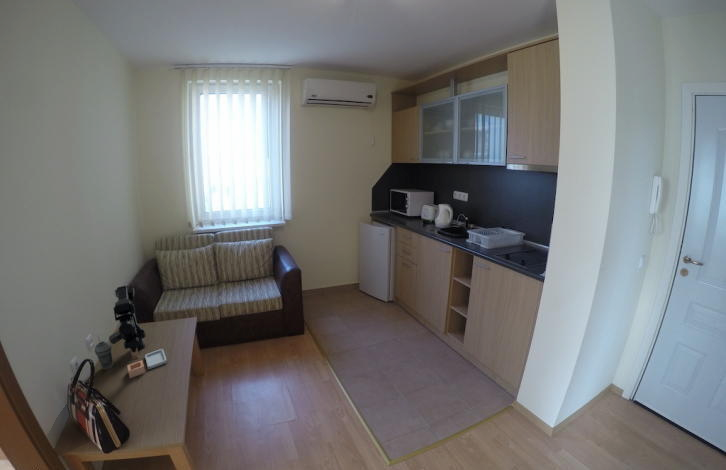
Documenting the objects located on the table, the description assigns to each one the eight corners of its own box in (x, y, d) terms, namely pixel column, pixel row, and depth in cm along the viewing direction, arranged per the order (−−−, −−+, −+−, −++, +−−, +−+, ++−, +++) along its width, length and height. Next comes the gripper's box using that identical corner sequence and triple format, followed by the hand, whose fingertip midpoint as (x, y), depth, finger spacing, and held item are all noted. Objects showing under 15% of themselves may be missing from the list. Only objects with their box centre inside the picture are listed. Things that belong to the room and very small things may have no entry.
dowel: (132, 358, 169) (128, 342, 166) (138, 356, 171) (135, 340, 168) (132, 361, 167) (128, 345, 164) (139, 358, 169) (135, 342, 166)
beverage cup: (107, 372, 170) (98, 340, 165) (96, 370, 172) (87, 338, 166) (119, 363, 177) (111, 332, 172) (109, 361, 179) (100, 331, 173)
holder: (128, 371, 170) (127, 365, 169) (143, 366, 175) (142, 360, 174) (129, 378, 165) (128, 371, 164) (145, 372, 170) (143, 366, 169)
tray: (145, 357, 182) (144, 354, 181) (163, 350, 188) (162, 348, 187) (148, 369, 172) (147, 367, 171) (167, 362, 177) (166, 359, 177)
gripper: (107, 323, 165) (114, 348, 170) (108, 338, 151) (116, 366, 156) (133, 315, 172) (139, 340, 176) (136, 330, 158) (142, 356, 162)
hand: (133, 350), depth 167 cm, fingers closed on dowel, 3 cm apart
